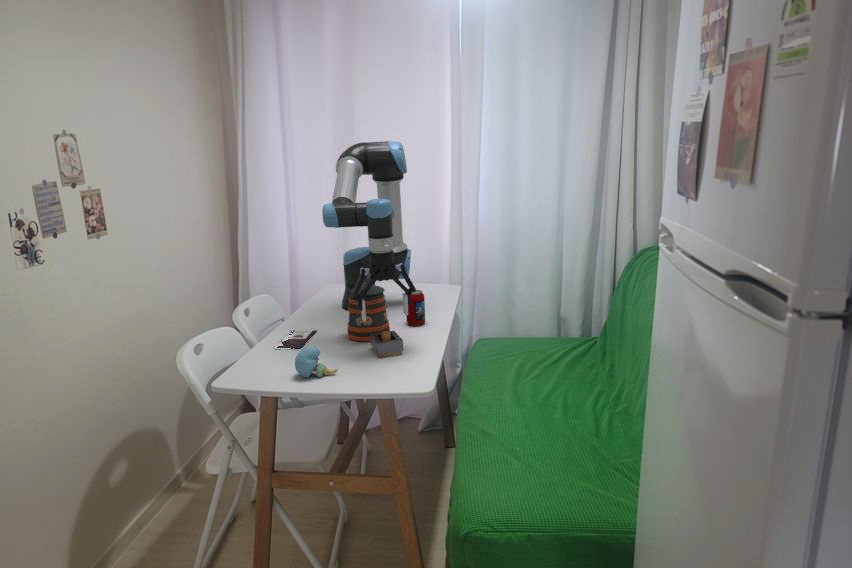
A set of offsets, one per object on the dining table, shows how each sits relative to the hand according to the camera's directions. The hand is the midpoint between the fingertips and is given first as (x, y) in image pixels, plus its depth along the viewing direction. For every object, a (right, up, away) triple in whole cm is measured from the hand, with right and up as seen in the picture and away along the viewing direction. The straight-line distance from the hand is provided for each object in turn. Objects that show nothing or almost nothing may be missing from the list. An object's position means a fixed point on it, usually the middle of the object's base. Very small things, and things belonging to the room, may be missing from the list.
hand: (385, 317), depth 191 cm
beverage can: (+9, -4, +29) cm, 30 cm away
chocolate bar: (-31, -9, +16) cm, 36 cm away
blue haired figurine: (-19, -16, -15) cm, 29 cm away
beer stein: (-7, -7, +20) cm, 23 cm away
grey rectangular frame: (0, -10, +2) cm, 10 cm away
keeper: (0, -11, +2) cm, 11 cm away
